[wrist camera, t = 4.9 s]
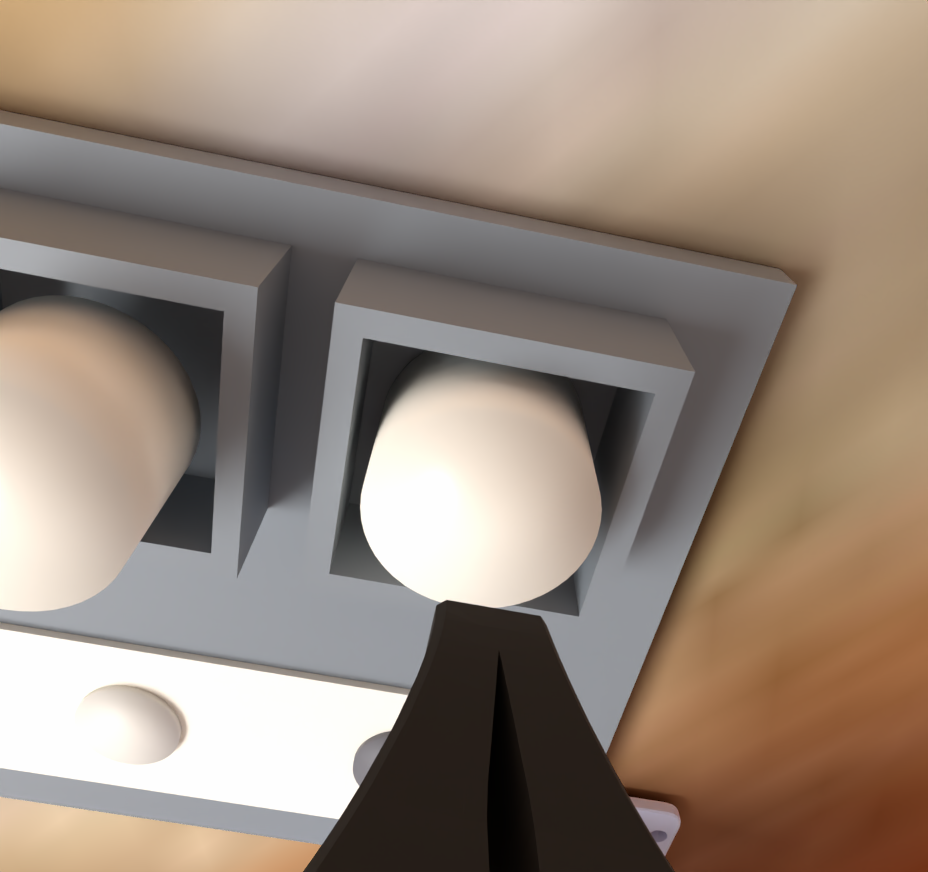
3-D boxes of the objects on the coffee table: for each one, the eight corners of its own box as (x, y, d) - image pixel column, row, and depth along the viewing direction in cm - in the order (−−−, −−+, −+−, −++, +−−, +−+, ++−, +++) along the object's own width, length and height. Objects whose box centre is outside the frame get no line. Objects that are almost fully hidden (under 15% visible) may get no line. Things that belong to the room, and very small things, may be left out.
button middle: (197, 519, 15) (134, 630, 12) (-23, 481, 15) (-134, 587, 12) (205, 321, 13) (133, 402, 10) (-46, 273, 13) (-185, 343, 10)
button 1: (555, 528, 17) (567, 625, 14) (369, 495, 17) (346, 587, 14) (607, 357, 15) (632, 433, 13) (398, 317, 15) (378, 386, 12)
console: (552, 847, 24) (561, 967, 21) (-287, 720, 22) (-406, 830, 19) (779, 268, 15) (849, 333, 12) (-549, -3, 14) (-834, -3, 11)
